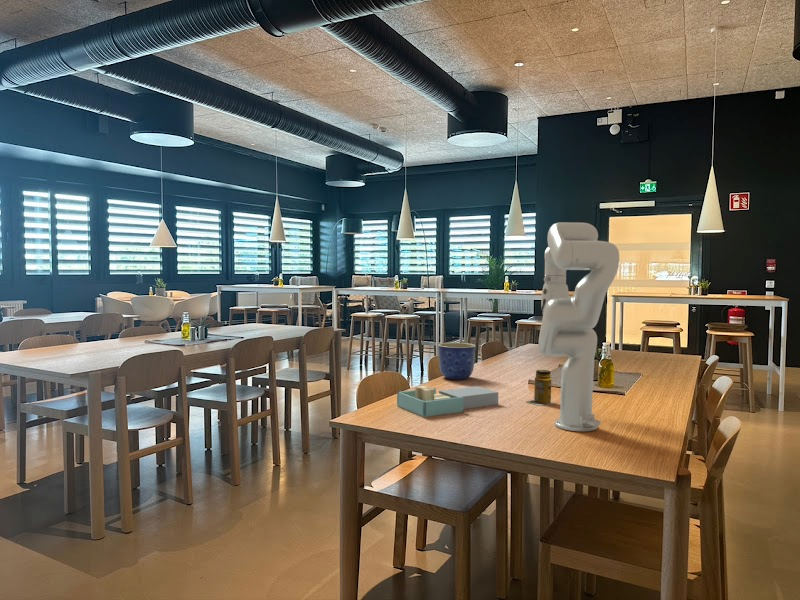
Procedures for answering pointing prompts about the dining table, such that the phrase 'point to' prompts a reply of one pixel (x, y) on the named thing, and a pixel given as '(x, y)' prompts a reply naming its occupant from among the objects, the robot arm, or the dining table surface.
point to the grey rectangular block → (473, 396)
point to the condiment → (542, 388)
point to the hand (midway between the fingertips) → (554, 330)
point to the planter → (456, 360)
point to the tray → (428, 404)
